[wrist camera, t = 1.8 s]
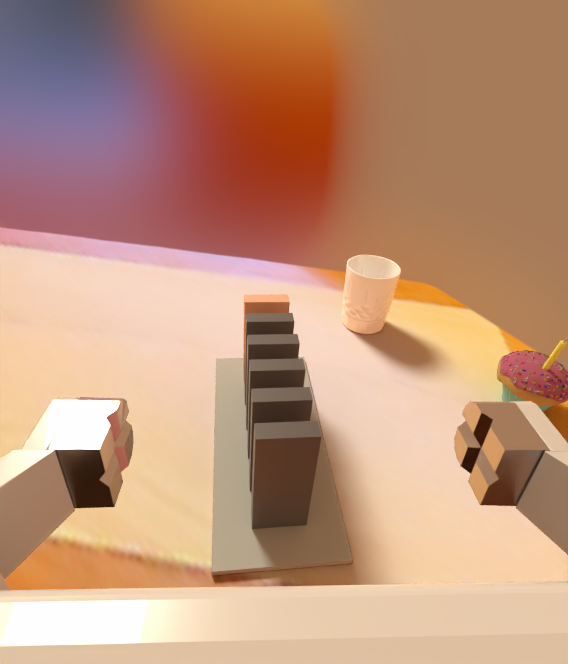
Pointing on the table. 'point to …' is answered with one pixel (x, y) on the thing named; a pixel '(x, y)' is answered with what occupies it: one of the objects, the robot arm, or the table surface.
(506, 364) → the cupcake
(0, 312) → the table surface
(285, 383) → the domino
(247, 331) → the domino
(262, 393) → the domino
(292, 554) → the felt strip
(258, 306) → the domino
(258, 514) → the domino
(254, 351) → the domino
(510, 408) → the robot arm
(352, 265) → the white cup
